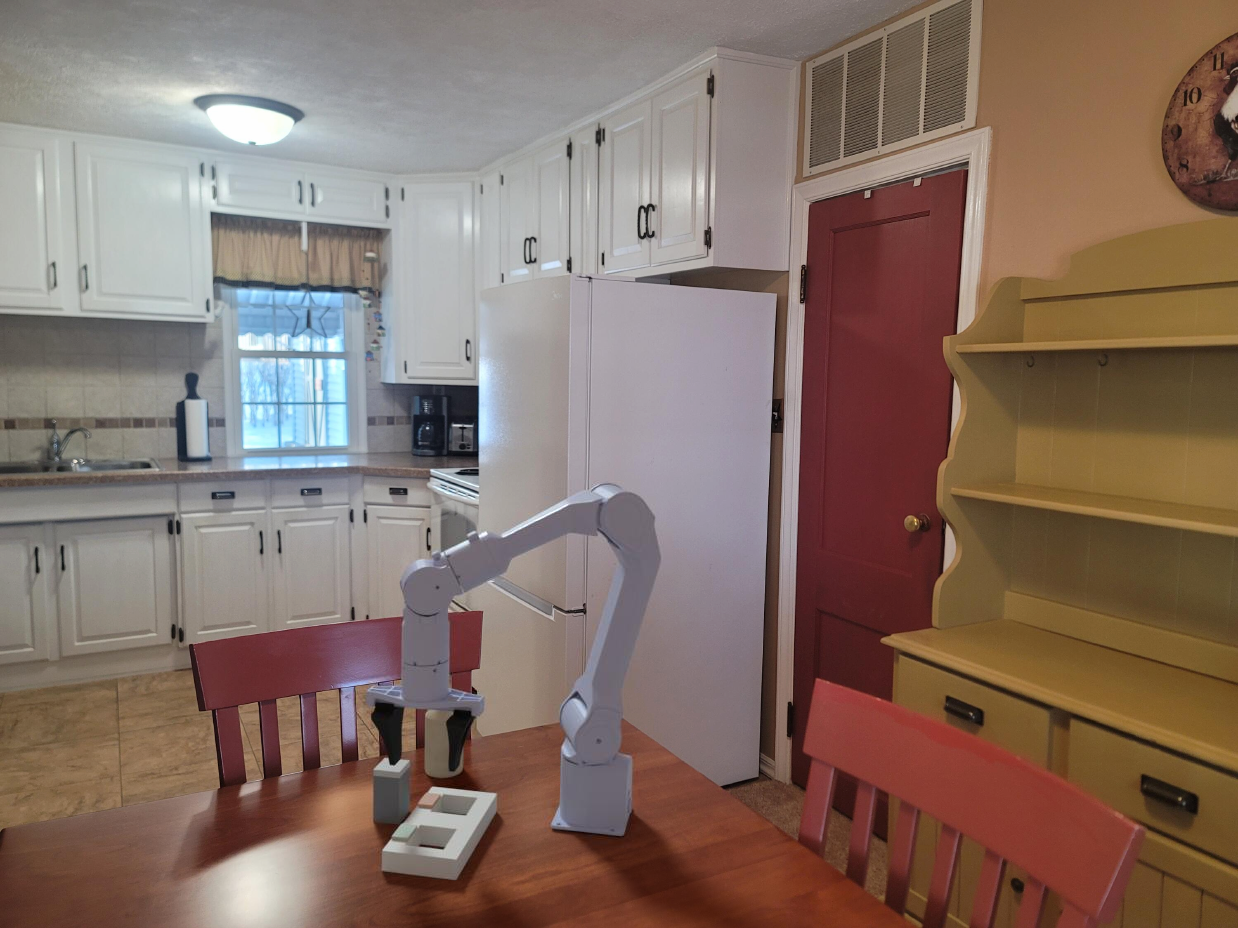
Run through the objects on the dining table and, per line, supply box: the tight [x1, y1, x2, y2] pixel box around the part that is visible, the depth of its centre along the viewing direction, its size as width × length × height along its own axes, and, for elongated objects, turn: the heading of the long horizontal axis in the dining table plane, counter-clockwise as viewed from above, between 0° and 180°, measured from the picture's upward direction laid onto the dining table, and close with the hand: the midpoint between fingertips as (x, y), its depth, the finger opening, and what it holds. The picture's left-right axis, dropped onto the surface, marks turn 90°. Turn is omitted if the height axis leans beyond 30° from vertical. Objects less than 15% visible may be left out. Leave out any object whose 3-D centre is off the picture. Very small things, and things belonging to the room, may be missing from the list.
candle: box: [424, 709, 464, 779], centre depth 126 cm, size 6×6×10 cm
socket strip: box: [381, 786, 498, 881], centre depth 108 cm, size 9×16×3 cm, turn 171°
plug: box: [372, 757, 411, 825], centre depth 113 cm, size 4×4×7 cm
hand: (424, 764), depth 108 cm, fingers open, 7 cm apart
